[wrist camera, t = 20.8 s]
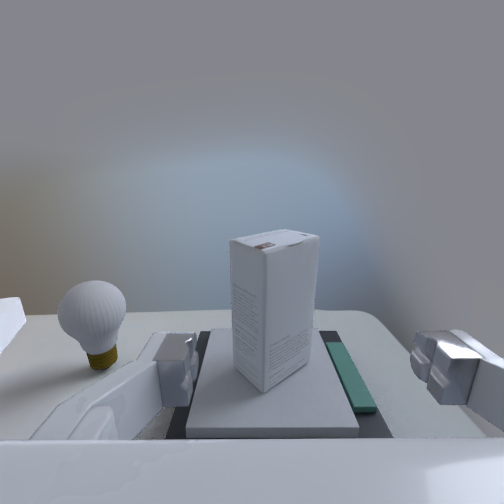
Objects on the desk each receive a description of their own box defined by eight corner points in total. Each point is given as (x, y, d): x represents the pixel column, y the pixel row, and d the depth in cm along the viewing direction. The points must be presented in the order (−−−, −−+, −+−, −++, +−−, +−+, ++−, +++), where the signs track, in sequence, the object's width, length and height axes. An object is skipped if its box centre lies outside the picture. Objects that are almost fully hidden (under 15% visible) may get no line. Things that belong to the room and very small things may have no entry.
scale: (334, 348, 31) (337, 323, 30) (396, 479, 18) (404, 441, 17) (201, 349, 31) (199, 323, 30) (163, 480, 18) (158, 442, 17)
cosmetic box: (278, 341, 27) (281, 226, 24) (313, 364, 24) (323, 234, 20) (229, 368, 23) (225, 236, 20) (263, 400, 20) (265, 249, 16)
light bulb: (110, 344, 32) (96, 269, 29) (146, 358, 30) (134, 277, 27) (60, 377, 27) (37, 289, 24) (98, 396, 25) (77, 301, 22)
